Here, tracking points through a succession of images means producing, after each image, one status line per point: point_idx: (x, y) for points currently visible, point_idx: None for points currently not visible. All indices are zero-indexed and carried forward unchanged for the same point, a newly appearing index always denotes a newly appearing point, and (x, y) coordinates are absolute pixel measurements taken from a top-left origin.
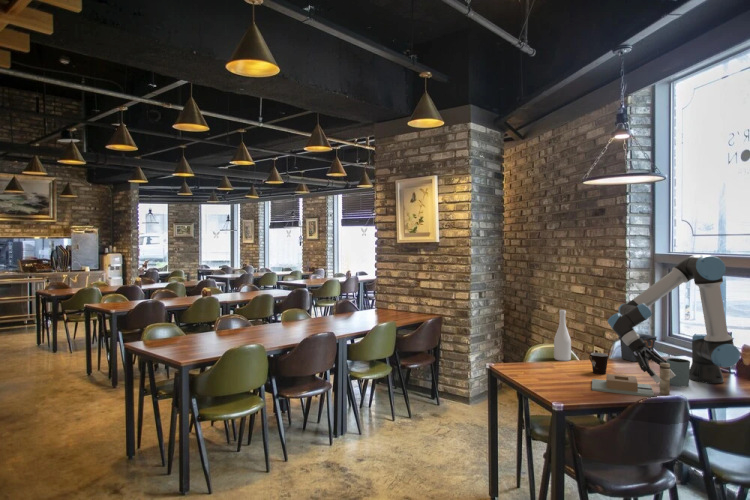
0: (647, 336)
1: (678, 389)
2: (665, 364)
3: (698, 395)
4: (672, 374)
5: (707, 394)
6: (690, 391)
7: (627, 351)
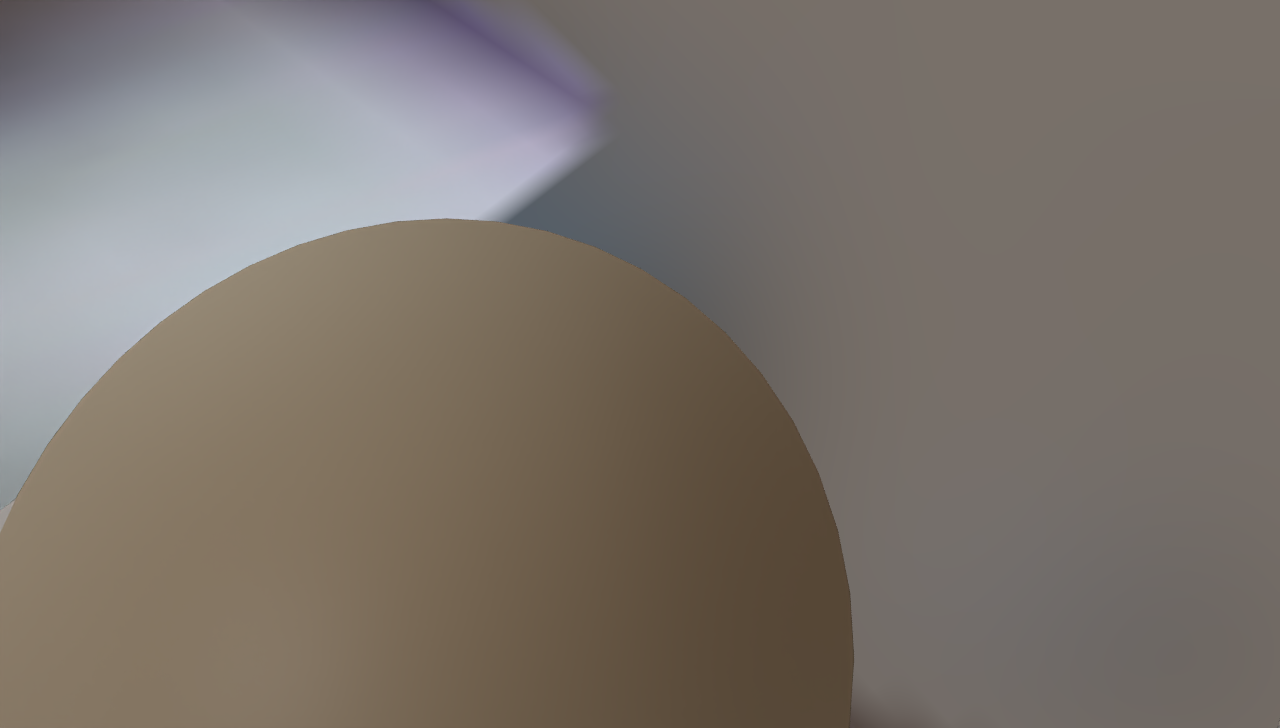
0: None
1: None
2: (724, 431)
3: (267, 178)
4: None
5: (77, 110)
6: (47, 387)
7: None
